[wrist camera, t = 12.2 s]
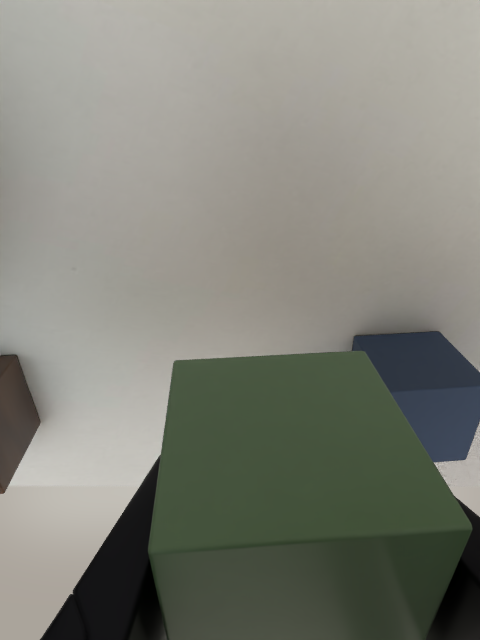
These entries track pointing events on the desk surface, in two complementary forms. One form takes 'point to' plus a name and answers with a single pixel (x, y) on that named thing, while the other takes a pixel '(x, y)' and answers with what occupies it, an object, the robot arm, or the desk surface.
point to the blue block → (429, 388)
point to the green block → (297, 505)
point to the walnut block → (14, 418)
